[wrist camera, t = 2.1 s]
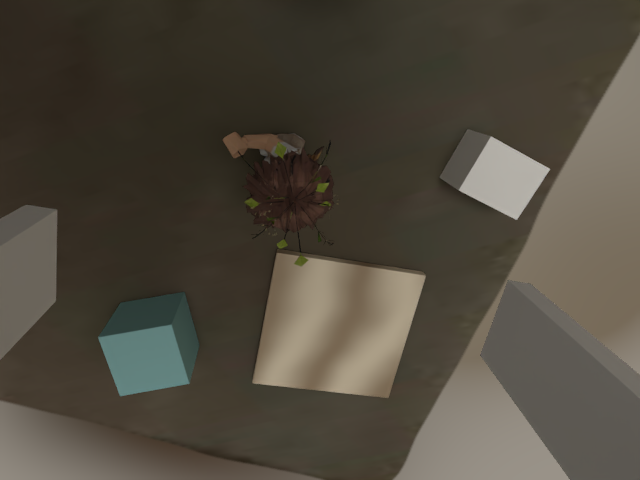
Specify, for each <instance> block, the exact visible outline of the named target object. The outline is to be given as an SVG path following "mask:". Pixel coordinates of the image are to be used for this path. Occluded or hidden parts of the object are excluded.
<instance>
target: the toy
mask: <svg viewBox="0 0 640 480" xmlns="http://www.w3.org/2000/svg"><path fill="white" fill-rule="evenodd" d="M223 142H224V143H225V145H226V146H227V148H228V150H229V152H230V153H231V155H232V156H233V158H237V157H239V156H241V157H242V155H243V156H244V153H245V151H246V150H247V148H254V149H260V154H261V155H263V156H266V157H265V158H264V160H262V168H261V167H260V165H259V163H258V162H254V169H253V168H252V167H251V166H250V165H249V164H248V163H247V162H246V161H245V162H246V163H247V164H248V165H249V166H250V167H251V168H252V169H253V170H254V171H255V175H254V174H253V177H252V176H251V175H250V174H249V173H248V174H247V177H246V180H247V183H248V184H247V185H245V186H242V187H244V188H245V189H247V190H248V191H249V192H250V194H251V197H249V198H247V200H246V201H245V203H246V208H247V213H248V212H252V215H254V216H255V217H256V218H255V219H254V224H261V223H262V224H264V225H260V226H267V227H266V228H265V230H263V231H267V228H268V227H270V226H272V228H274V227H277V228H279V229H282V230H283V231H285V233H287V232H288V231H289V230H291V231H292V232H293V233H294V232H296V231H299V230H300V229H301V228H304V227H306V226H307V225H309V226H310V228H311V229H312V230H313V228H314V225H315V223H316V221H317V218H322V217H323V216H324V214H325V213H326V212H327V211H328V210H330V209H331V208H332V206H333V204H334V202H333V201H332V199H333V197H334V196H335V195H334V196H333V192H332V188H333V185H334V183H333V179H332V176H331V175H330V173H331V171H330V170H329V168H328V167H327V166H321V165H322V164H323V162H324V160H325V158H326V156H327V154H328V151H329V148H330V145H331V142H330V144H329V147H328V150H326V156H325V158H324V160H323V162H322V164H321V165H320V164H318V163H317V160H319V159H318V158H319V156H320V154H321V152H322V150H323V148H324V146H323V147H321V148H319V149H317V150H316V151H315V153H314V154H313V155H310V154H308V156H307V154H306V152H305V150H304V144H305V141H304V140H303V139H302V138H301V137H299V136H298V135H296V134H295V133H291V134H278V135H273V134H254V135H244V136H243V137H242V138H241V137H240V136H239V134H238V133H236V132H233V133H231V134H230V135H228V136H226V137H225V138H224V139H223ZM242 158H243V157H242ZM243 159H244V158H243ZM244 160H245V159H244ZM321 161H322V159H321ZM248 162H249V161H248ZM336 195H337V194H336ZM337 196H338V195H337ZM338 200H339V199H338ZM336 201H337V200H336ZM336 205H338V203H337V204H336ZM330 215H331V214H330ZM315 227H316V226H315ZM286 230H287V231H286ZM317 230H318V229H317ZM263 231H262V232H263ZM262 232H261V233H262ZM320 232H321V231H320ZM320 232H318V242H320V241H321V238H320V235H319V233H320ZM261 233H260V234H261ZM269 234H270V233H269ZM250 235H257V236H259V234H250ZM276 235H277V232H276ZM321 235H322V234H321ZM257 236H255V237H257ZM272 236H273V233H272ZM274 236H275V234H274ZM285 236H286V234H285ZM255 237H253V238H252V239H254V238H255ZM266 237H267V236H266ZM322 237H323V236H322ZM298 238H299V233H298ZM323 238H324V237H323ZM324 239H325V238H324ZM325 240H326V239H325ZM326 241H327V240H326ZM326 241H325V242H326ZM329 241H332V240H329ZM327 242H328V241H327ZM328 243H329V244H330V242H328ZM324 244H325V243H324ZM329 244H328V245H329ZM332 244H334V243H332ZM332 244H331V245H332ZM277 246H278V247H279V248H280V249H281V248H283V247H285V246H288V245H287V243H286V241H285V237H284V239H283V240H282V241H280V242H279V243H278V244H277ZM299 247H300V240H299ZM307 261H308V259H306V258H305V257H304V256H302V255H301V248H300V256H299V257H298V259H297V260H296V261H295V263H294V264H295V265H298V266H303V265H304V264H305V263H306V262H307Z"/></svg>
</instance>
